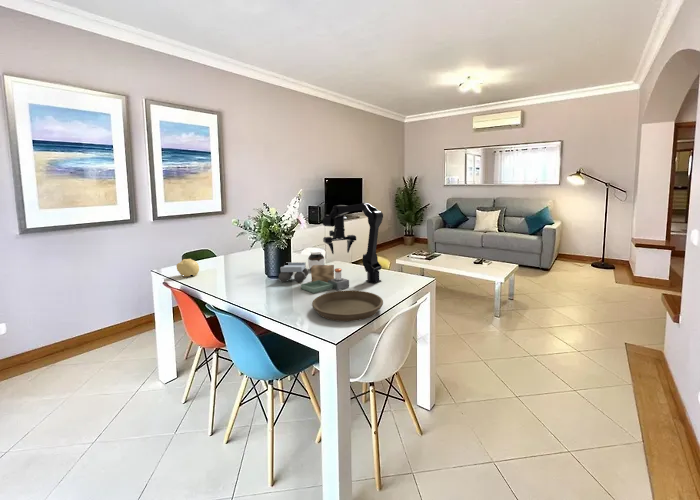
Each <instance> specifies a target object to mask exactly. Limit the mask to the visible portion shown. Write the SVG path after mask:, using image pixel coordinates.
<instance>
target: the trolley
mask: <svg viewBox="0 0 700 500" xmlns="http://www.w3.org/2000/svg"><path fill="white" fill-rule="evenodd" d="M287 263H288V265H285V264H284V265H283V266H280V273H278V279H279V281H280V282H282V283H286V282H288V281H289V280H290V278H292V277H293V275H294V277H293V278H294V281H296V282H297V283H302V282H304V280H305V279H306V277H308V275H309V270H308V268H307V266H306V262H287Z"/></svg>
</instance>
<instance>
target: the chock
mask: <svg viewBox="0 0 700 500" xmlns="http://www.w3.org/2000/svg"><path fill="white" fill-rule="evenodd" d="M310 274H311V282H313V281H317V280H321V281H324V282H327V283H328V280H330V279H335V265H334V264H325V265H313V266H312V267H311V269H310Z"/></svg>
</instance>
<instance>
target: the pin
mask: <svg viewBox="0 0 700 500" xmlns="http://www.w3.org/2000/svg"><path fill="white" fill-rule="evenodd" d="M342 270H343V269H342V268H339V267H338V268H334V279H335V281H341V278H342Z"/></svg>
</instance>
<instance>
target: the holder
mask: <svg viewBox="0 0 700 500" xmlns="http://www.w3.org/2000/svg"><path fill="white" fill-rule="evenodd" d="M328 283H330V284H333V289H332V290H334V291H342V290H344V289H348V288H350V279H346V278H343V277H341V281H335V278H334V279H330V280H328Z"/></svg>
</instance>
